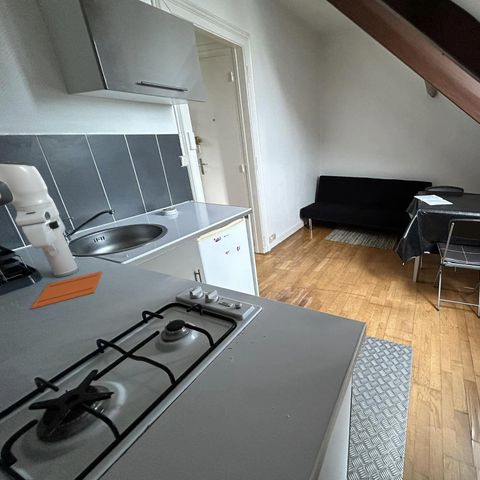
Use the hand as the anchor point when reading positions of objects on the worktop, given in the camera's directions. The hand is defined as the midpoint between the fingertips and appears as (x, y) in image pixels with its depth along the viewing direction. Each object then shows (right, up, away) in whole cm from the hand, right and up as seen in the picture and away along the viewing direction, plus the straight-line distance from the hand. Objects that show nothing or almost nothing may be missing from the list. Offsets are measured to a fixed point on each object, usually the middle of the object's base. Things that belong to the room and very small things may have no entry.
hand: (58, 251), depth 90 cm
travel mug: (0, -8, +3) cm, 9 cm away
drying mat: (+11, -12, -7) cm, 18 cm away
